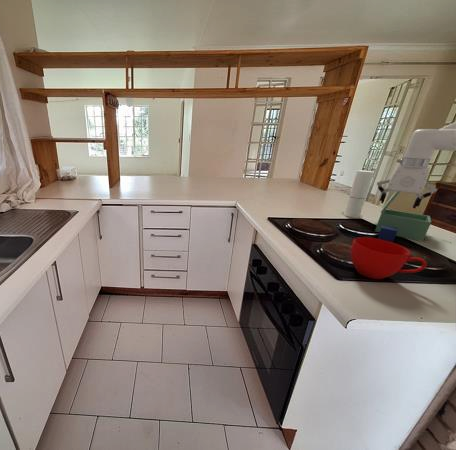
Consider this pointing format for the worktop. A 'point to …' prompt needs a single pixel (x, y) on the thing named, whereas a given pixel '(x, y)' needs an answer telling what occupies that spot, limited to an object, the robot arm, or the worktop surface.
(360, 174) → the cylindrical container
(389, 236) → the blue cube
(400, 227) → the green rectangular box
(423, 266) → the ceramic cup
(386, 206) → the lid
